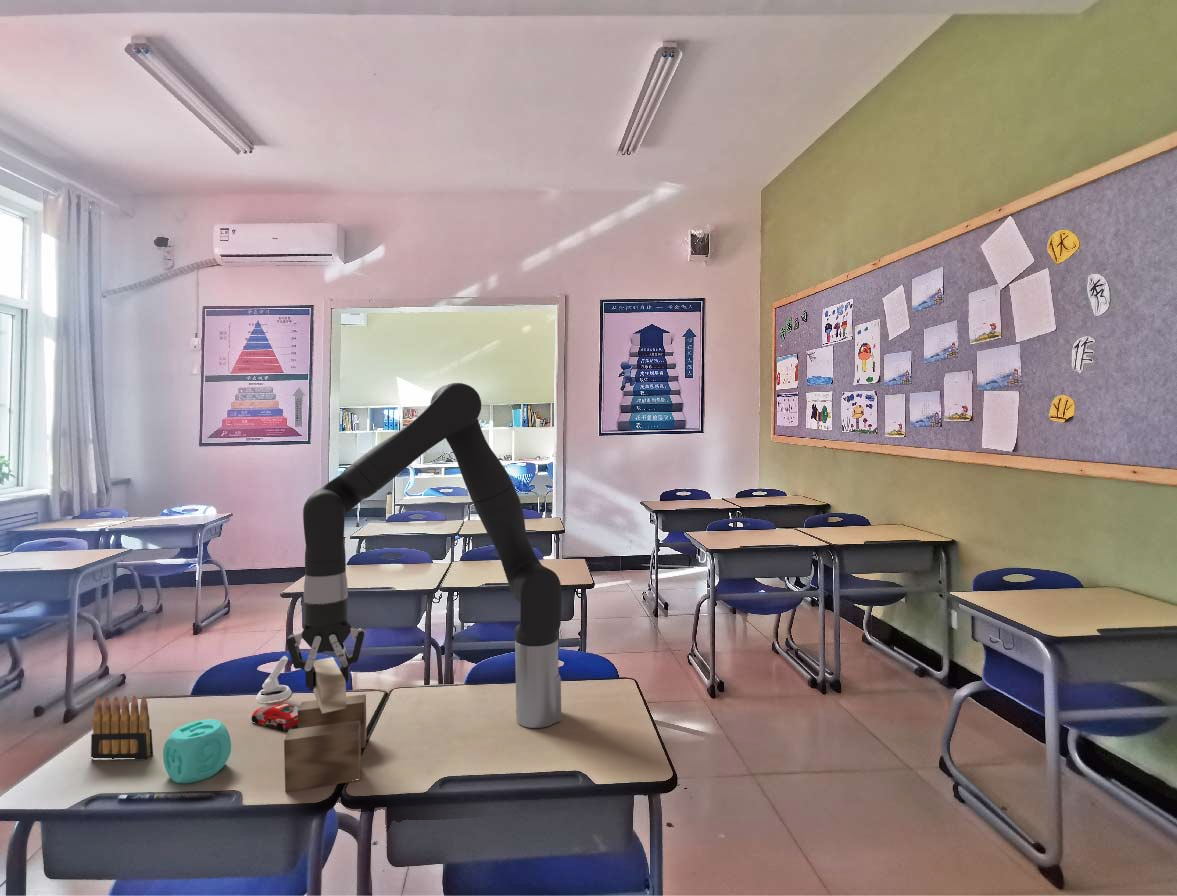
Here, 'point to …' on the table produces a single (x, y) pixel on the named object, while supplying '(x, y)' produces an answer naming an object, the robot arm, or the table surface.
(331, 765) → the slotted shelf
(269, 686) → the hook
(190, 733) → the decorative dice
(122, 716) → the ammunition clip
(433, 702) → the table surface
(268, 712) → the race car
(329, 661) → the maple beam
